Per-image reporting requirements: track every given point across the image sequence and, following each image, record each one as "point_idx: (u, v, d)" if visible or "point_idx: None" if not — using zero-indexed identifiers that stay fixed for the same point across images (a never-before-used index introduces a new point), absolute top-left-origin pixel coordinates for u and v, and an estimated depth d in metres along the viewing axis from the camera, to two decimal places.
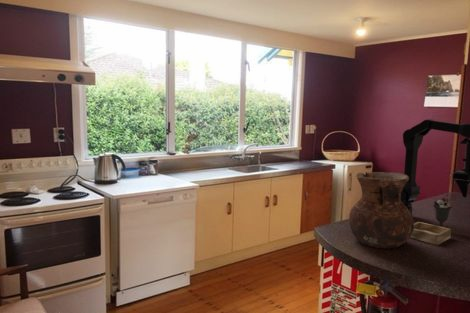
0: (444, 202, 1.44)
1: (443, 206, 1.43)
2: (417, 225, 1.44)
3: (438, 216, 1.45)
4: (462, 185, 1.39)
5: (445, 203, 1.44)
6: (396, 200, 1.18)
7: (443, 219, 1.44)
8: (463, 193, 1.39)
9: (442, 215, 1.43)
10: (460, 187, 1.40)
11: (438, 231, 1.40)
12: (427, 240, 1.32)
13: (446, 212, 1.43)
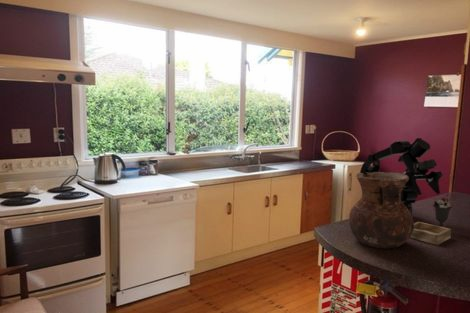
0: (444, 202, 1.44)
1: (443, 206, 1.43)
2: (417, 225, 1.44)
3: (438, 216, 1.45)
4: (412, 186, 1.53)
5: (445, 203, 1.44)
6: (396, 200, 1.18)
7: (443, 219, 1.44)
8: (417, 192, 1.51)
9: (442, 215, 1.43)
10: (412, 189, 1.53)
11: (438, 231, 1.40)
12: (427, 240, 1.32)
13: (446, 212, 1.43)
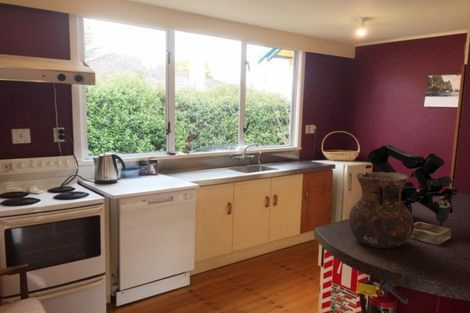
0: (444, 202, 1.44)
1: (443, 206, 1.43)
2: (417, 225, 1.44)
3: (438, 216, 1.45)
4: (428, 204, 1.46)
5: (445, 203, 1.44)
6: (396, 200, 1.18)
7: (443, 219, 1.44)
8: (433, 210, 1.44)
9: (442, 215, 1.43)
10: (428, 207, 1.46)
11: (438, 231, 1.40)
12: (427, 240, 1.32)
13: (446, 212, 1.43)
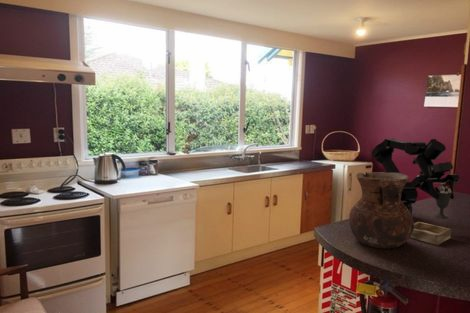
0: (445, 188, 1.42)
1: (443, 192, 1.41)
2: (417, 225, 1.44)
3: (438, 202, 1.43)
4: (428, 190, 1.44)
5: (446, 189, 1.42)
6: (396, 200, 1.18)
7: (443, 205, 1.42)
8: (434, 196, 1.42)
9: (442, 201, 1.42)
10: (428, 193, 1.44)
11: (438, 231, 1.40)
12: (427, 240, 1.32)
13: (447, 197, 1.41)
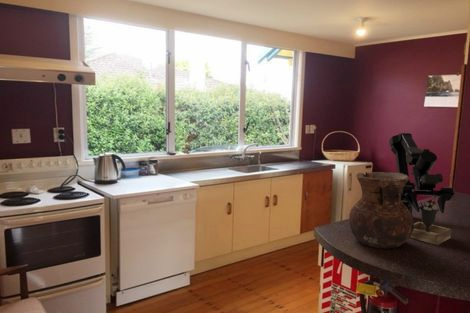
0: (429, 204, 1.36)
1: (426, 208, 1.36)
2: (417, 225, 1.44)
3: (422, 218, 1.37)
4: (412, 201, 1.40)
5: (430, 205, 1.36)
6: (396, 200, 1.18)
7: (427, 222, 1.36)
8: (415, 208, 1.38)
9: (425, 217, 1.36)
10: (412, 204, 1.40)
11: (438, 231, 1.40)
12: (427, 240, 1.32)
13: (430, 214, 1.35)
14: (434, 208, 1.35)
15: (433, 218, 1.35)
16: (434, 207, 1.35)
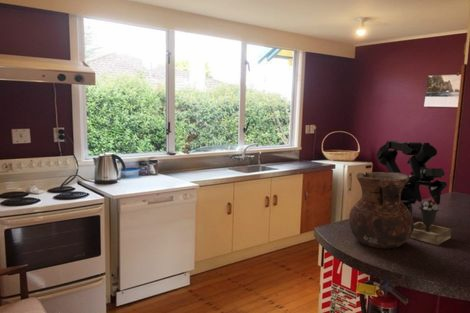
0: (429, 204, 1.36)
1: (426, 208, 1.35)
2: (417, 225, 1.44)
3: (422, 218, 1.37)
4: (413, 191, 1.47)
5: (430, 205, 1.35)
6: (396, 200, 1.18)
7: (427, 222, 1.36)
8: (417, 198, 1.45)
9: (425, 217, 1.36)
10: (412, 194, 1.47)
11: (438, 231, 1.40)
12: (427, 240, 1.32)
13: (430, 214, 1.35)
14: (434, 208, 1.35)
15: (433, 218, 1.35)
16: (434, 207, 1.35)
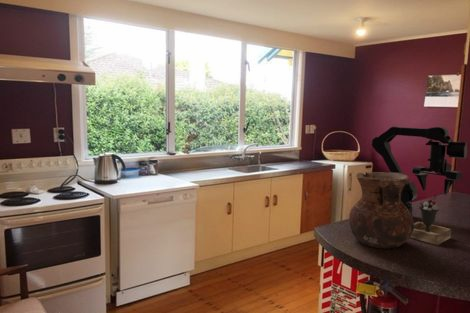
0: (429, 204, 1.36)
1: (426, 208, 1.35)
2: (417, 225, 1.44)
3: (422, 218, 1.37)
4: (448, 184, 1.51)
5: (430, 205, 1.36)
6: (396, 200, 1.18)
7: (427, 222, 1.36)
8: (447, 191, 1.52)
9: (425, 217, 1.36)
10: (447, 186, 1.51)
11: (438, 231, 1.40)
12: (427, 240, 1.32)
13: (430, 214, 1.35)
14: (434, 208, 1.35)
15: (433, 218, 1.35)
16: (434, 207, 1.35)
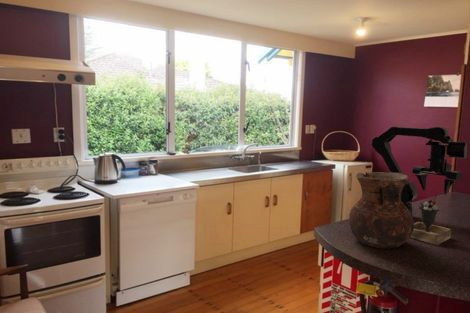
0: (429, 204, 1.36)
1: (426, 208, 1.35)
2: (417, 225, 1.44)
3: (422, 218, 1.37)
4: (448, 184, 1.51)
5: (430, 205, 1.36)
6: (396, 200, 1.18)
7: (427, 222, 1.36)
8: (447, 191, 1.52)
9: (426, 217, 1.36)
10: (447, 186, 1.51)
11: (438, 231, 1.40)
12: (427, 240, 1.32)
13: (430, 214, 1.35)
14: (434, 208, 1.35)
15: (433, 218, 1.35)
16: (434, 207, 1.35)
